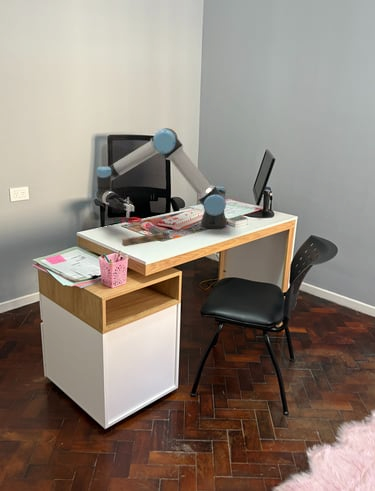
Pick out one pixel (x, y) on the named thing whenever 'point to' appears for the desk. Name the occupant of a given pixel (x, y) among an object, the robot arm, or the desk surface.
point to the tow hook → (127, 218)
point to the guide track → (147, 236)
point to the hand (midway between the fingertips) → (131, 208)
